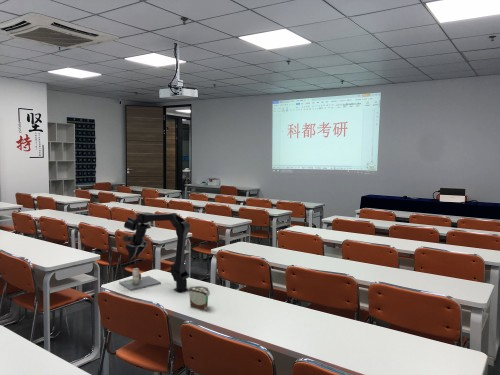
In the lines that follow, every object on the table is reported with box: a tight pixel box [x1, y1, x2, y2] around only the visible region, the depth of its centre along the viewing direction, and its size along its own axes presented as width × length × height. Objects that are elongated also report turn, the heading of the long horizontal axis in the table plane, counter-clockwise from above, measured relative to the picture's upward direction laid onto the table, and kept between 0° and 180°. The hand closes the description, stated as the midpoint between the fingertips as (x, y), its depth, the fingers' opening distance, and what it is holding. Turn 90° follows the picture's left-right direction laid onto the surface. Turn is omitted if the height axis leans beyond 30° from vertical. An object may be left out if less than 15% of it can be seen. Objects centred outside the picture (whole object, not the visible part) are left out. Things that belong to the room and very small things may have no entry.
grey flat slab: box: [118, 275, 162, 292], centre depth 231 cm, size 16×19×1 cm
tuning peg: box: [132, 267, 142, 285], centre depth 231 cm, size 13×4×9 cm, turn 11°
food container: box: [187, 285, 211, 312], centre depth 196 cm, size 12×6×10 cm, turn 58°
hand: (133, 258), depth 226 cm, fingers open, 9 cm apart
